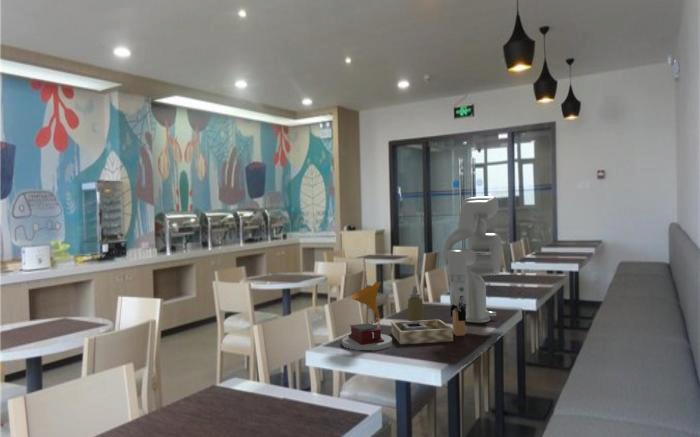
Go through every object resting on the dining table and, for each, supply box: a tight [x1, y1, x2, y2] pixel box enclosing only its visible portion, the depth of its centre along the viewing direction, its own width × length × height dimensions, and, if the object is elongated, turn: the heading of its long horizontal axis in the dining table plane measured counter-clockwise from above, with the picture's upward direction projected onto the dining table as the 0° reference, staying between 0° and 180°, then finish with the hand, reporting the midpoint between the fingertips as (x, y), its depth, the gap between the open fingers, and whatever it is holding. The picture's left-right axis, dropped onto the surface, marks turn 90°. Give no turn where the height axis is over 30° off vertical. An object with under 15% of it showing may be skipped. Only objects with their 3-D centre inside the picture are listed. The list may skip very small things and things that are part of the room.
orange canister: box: [452, 308, 466, 337], centre depth 210 cm, size 4×4×11 cm
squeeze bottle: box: [406, 285, 425, 321], centre depth 232 cm, size 8×8×18 cm
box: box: [390, 319, 454, 345], centre depth 207 cm, size 22×18×5 cm
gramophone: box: [341, 281, 393, 351], centre depth 199 cm, size 20×20×25 cm
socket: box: [401, 322, 427, 331], centre depth 206 cm, size 9×9×4 cm
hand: (458, 318), depth 209 cm, fingers open, 9 cm apart
